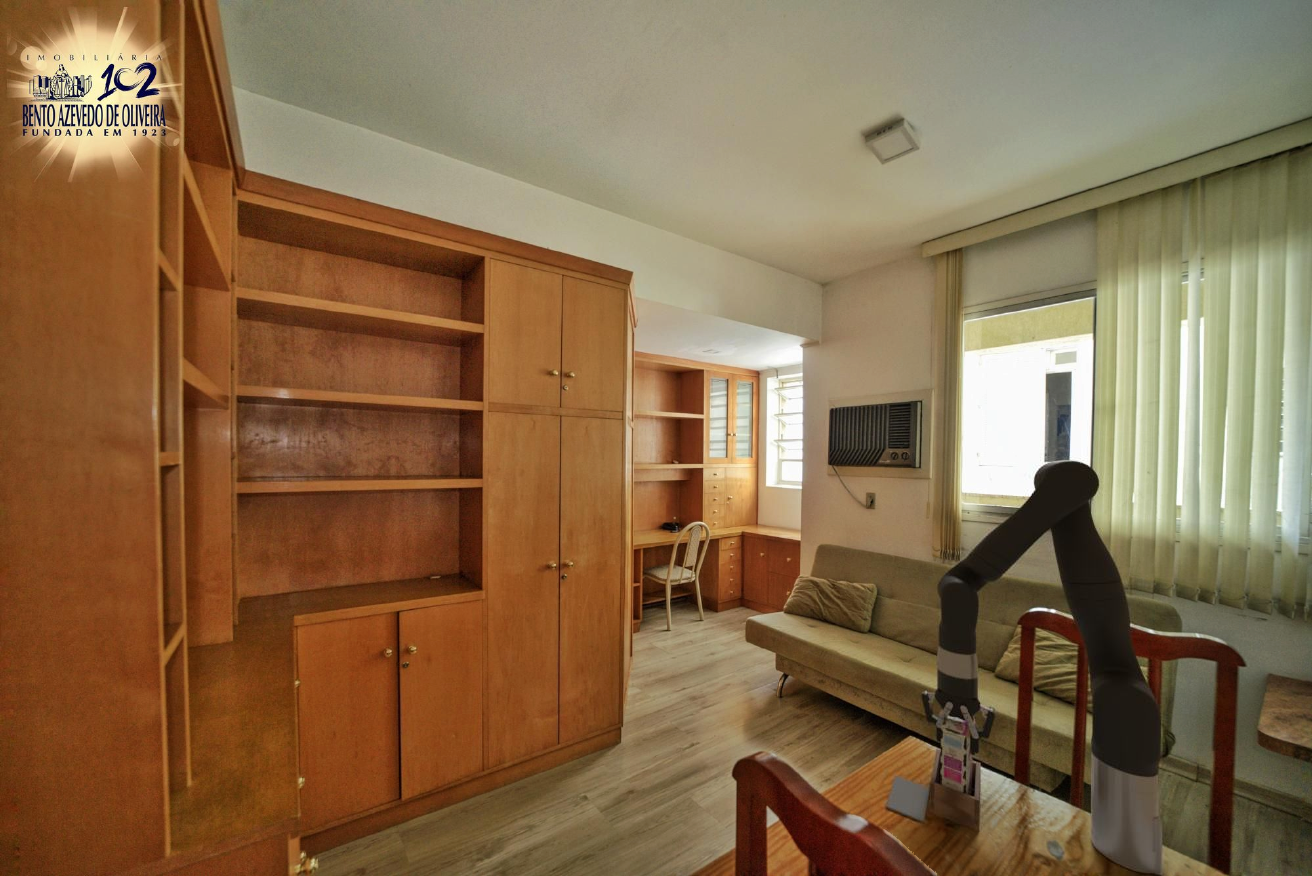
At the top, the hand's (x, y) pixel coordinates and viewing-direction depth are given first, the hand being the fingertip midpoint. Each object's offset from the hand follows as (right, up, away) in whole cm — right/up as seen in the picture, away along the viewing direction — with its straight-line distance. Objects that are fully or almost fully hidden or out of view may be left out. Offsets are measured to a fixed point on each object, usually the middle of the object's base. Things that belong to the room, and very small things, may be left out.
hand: (957, 748), depth 105 cm
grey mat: (-10, -11, 0) cm, 15 cm away
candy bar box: (0, -11, 0) cm, 11 cm away
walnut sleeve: (0, -11, 0) cm, 11 cm away
